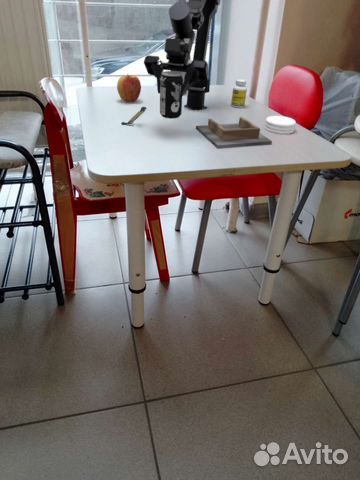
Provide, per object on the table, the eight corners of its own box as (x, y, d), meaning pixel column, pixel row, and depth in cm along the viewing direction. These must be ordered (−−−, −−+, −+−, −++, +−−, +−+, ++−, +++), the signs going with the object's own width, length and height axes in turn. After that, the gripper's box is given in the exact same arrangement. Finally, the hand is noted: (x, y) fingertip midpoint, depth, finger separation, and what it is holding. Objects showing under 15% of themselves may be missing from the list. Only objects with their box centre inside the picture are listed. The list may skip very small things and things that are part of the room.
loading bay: (195, 128, 117) (196, 116, 115) (244, 125, 123) (246, 114, 120) (217, 148, 104) (218, 134, 101) (271, 144, 109) (274, 131, 106)
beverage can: (184, 114, 110) (187, 72, 103) (175, 120, 105) (177, 76, 98) (165, 111, 112) (166, 69, 105) (155, 116, 107) (156, 73, 100)
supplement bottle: (229, 106, 142) (232, 80, 136) (232, 103, 146) (236, 78, 140) (242, 109, 140) (246, 82, 135) (245, 105, 145) (249, 79, 139)
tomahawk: (139, 130, 117) (140, 127, 116) (120, 126, 117) (120, 122, 117) (158, 112, 133) (158, 109, 133) (141, 108, 134) (141, 105, 133)
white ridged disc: (299, 134, 118) (301, 124, 116) (271, 135, 117) (273, 124, 114) (285, 125, 126) (288, 115, 124) (259, 125, 124) (261, 115, 122)
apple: (125, 105, 136) (124, 77, 130) (113, 100, 142) (111, 72, 136) (145, 102, 141) (145, 75, 135) (132, 97, 146) (132, 71, 141)
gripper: (145, 23, 100) (131, 73, 98) (210, 28, 96) (197, 80, 94) (155, 50, 111) (142, 96, 109) (213, 56, 107) (202, 103, 105)
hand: (169, 94), depth 104 cm, fingers closed on beverage can, 7 cm apart
